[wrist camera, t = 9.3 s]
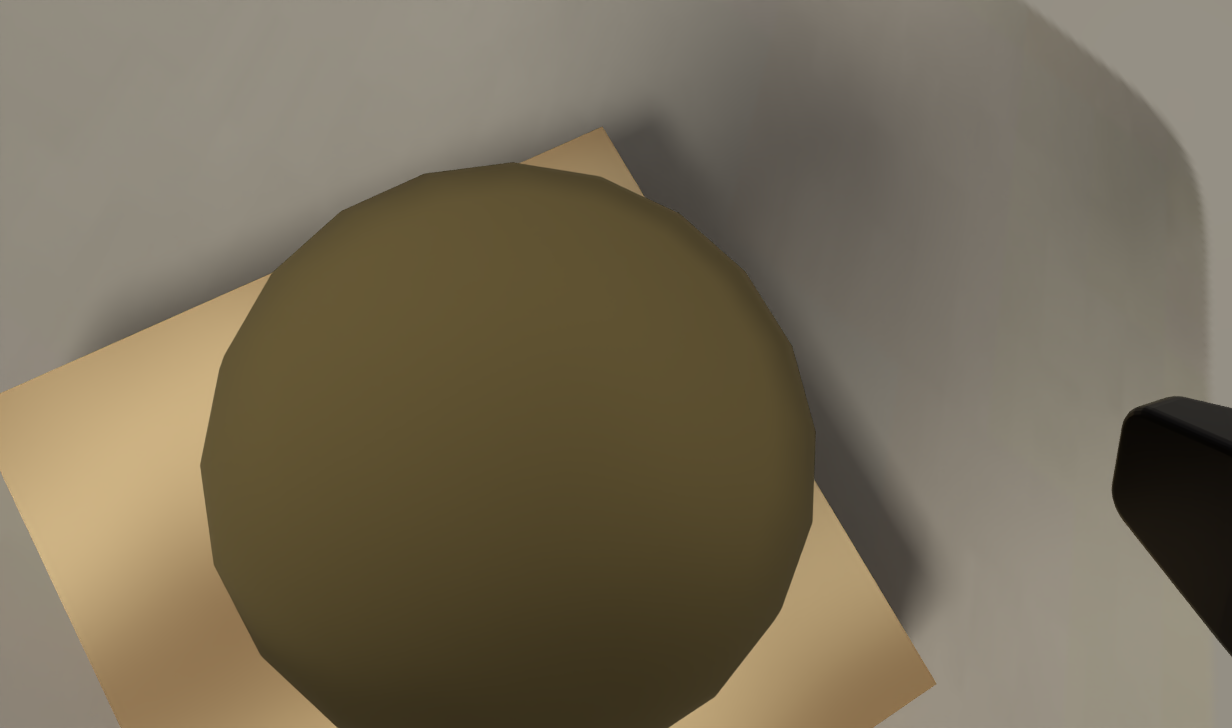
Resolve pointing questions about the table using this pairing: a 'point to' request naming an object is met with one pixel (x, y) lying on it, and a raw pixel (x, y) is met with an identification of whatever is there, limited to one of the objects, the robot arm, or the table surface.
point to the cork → (508, 459)
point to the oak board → (203, 610)
